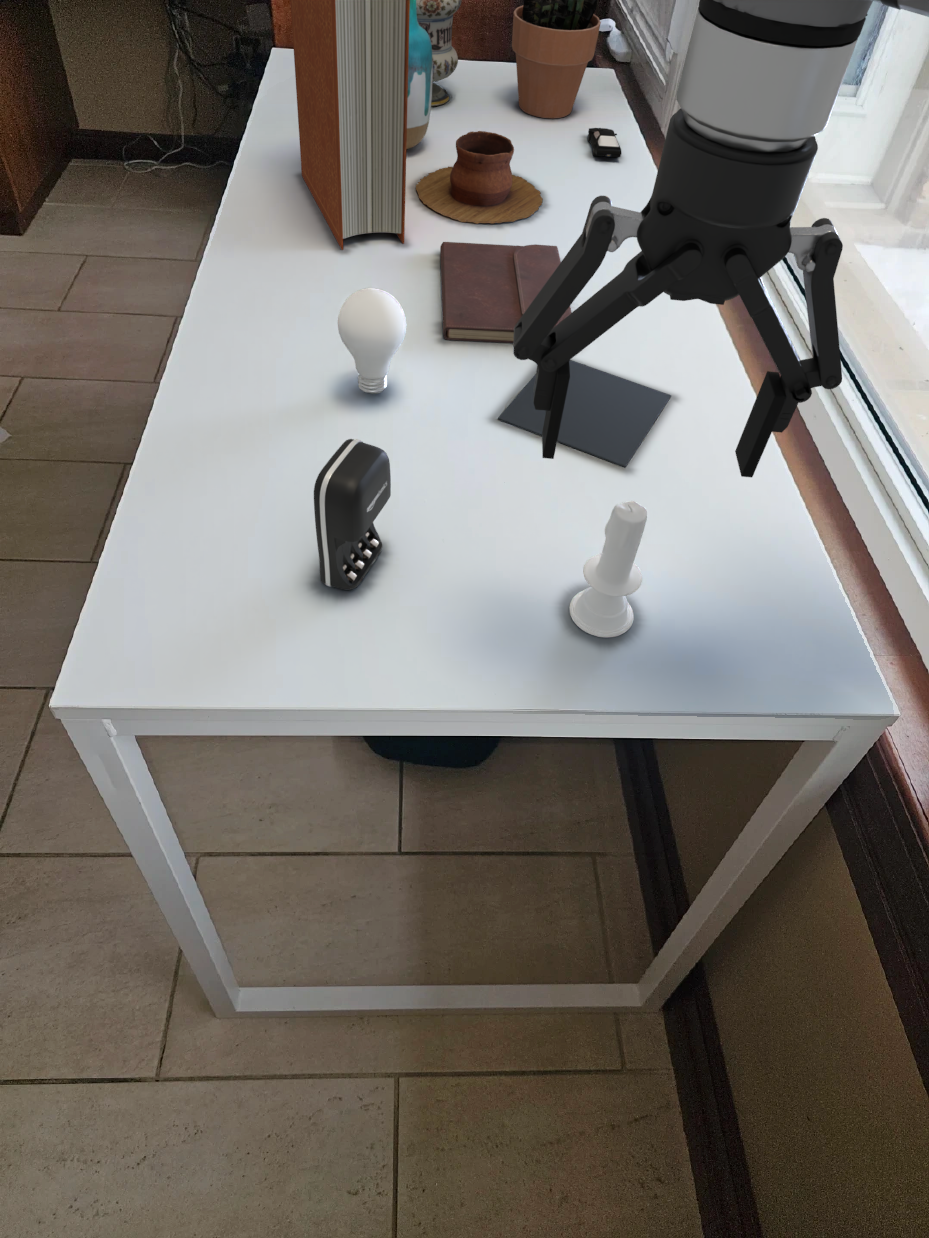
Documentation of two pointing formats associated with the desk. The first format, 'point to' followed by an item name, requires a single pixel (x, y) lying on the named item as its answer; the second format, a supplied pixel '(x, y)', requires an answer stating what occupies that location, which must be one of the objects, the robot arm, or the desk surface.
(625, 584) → the candle
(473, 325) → the notebook
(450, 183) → the ceramic pot
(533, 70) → the potted plant
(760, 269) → the robot arm
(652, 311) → the desk surface
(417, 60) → the vase
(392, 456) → the desk surface
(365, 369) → the light bulb
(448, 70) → the apothecary jar
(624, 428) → the mat
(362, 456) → the battery charger
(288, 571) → the desk surface
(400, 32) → the book
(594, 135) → the toy car
